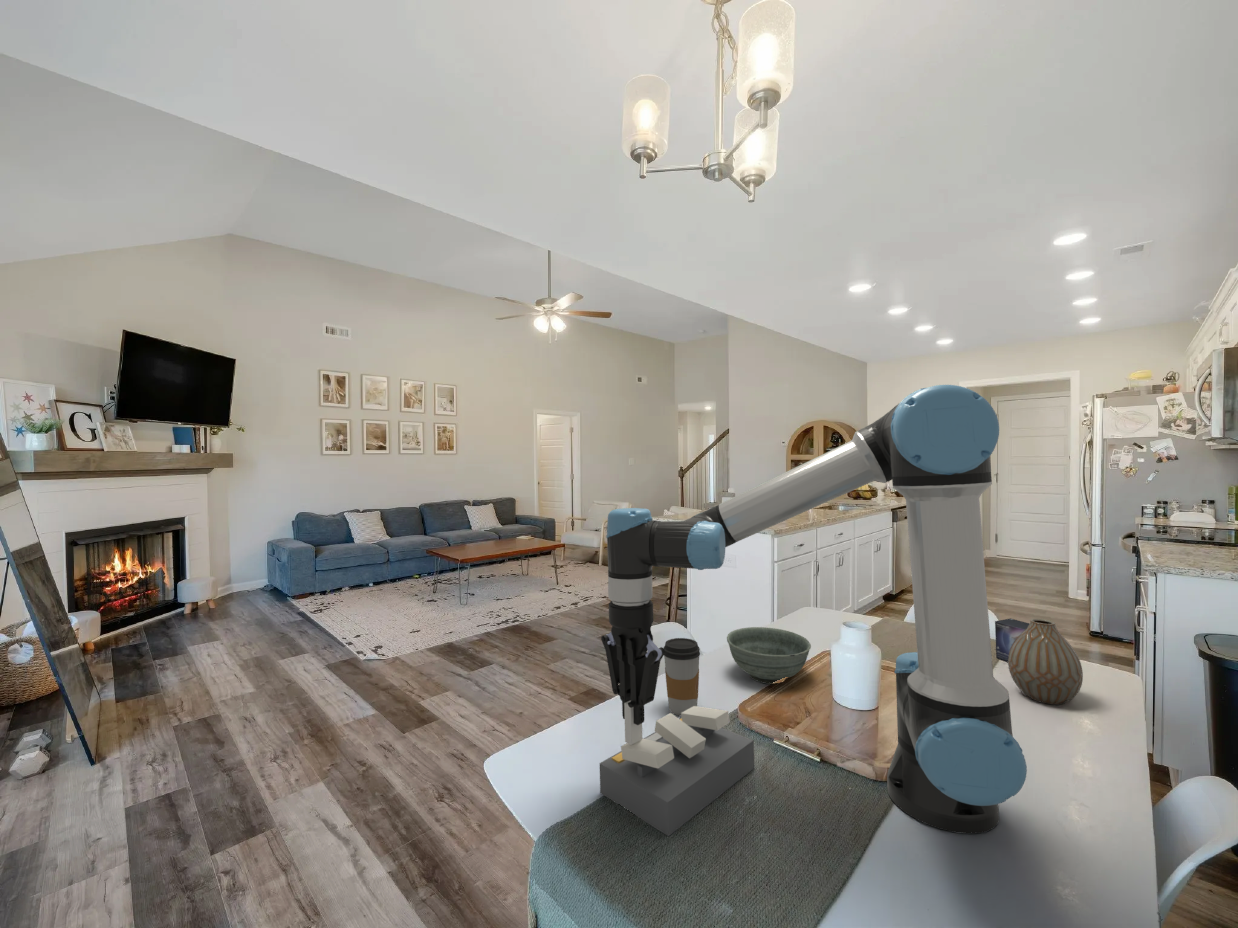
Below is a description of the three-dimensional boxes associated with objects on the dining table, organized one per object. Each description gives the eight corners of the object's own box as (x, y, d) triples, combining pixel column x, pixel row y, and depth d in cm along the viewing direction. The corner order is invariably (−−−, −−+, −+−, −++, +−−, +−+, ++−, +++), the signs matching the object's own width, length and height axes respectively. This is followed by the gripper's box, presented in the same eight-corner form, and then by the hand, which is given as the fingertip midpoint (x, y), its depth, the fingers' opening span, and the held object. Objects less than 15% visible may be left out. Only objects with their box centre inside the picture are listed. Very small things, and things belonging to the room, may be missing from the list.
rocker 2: (703, 748, 89) (705, 738, 89) (689, 758, 86) (691, 747, 86) (669, 722, 95) (670, 712, 94) (654, 730, 92) (656, 720, 92)
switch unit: (754, 767, 93) (753, 731, 94) (668, 836, 77) (667, 792, 77) (688, 738, 104) (687, 706, 104) (600, 792, 87) (599, 754, 87)
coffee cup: (700, 720, 112) (699, 650, 112) (662, 717, 113) (660, 648, 113) (702, 702, 120) (700, 637, 120) (666, 700, 121) (664, 636, 122)
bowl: (737, 658, 147) (736, 622, 147) (815, 668, 138) (814, 631, 138) (718, 686, 129) (717, 646, 129) (807, 701, 119) (806, 657, 119)
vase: (1097, 704, 114) (1094, 625, 114) (1060, 716, 109) (1058, 633, 110) (1031, 682, 126) (1029, 610, 127) (996, 692, 122) (993, 617, 122)
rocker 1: (674, 757, 84) (672, 744, 84) (657, 768, 81) (655, 754, 81) (639, 749, 89) (637, 737, 89) (622, 758, 86) (620, 746, 87)
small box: (994, 658, 142) (992, 620, 142) (1011, 655, 144) (1010, 617, 144) (1035, 672, 132) (1033, 631, 132) (1053, 669, 134) (1051, 628, 134)
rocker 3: (730, 722, 95) (727, 710, 95) (717, 730, 92) (715, 718, 92) (695, 716, 100) (693, 705, 101) (682, 724, 98) (680, 712, 98)
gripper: (674, 602, 85) (678, 745, 85) (619, 590, 95) (622, 719, 94) (643, 611, 80) (647, 764, 80) (588, 598, 89) (591, 735, 89)
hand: (633, 740), depth 87 cm, fingers closed
